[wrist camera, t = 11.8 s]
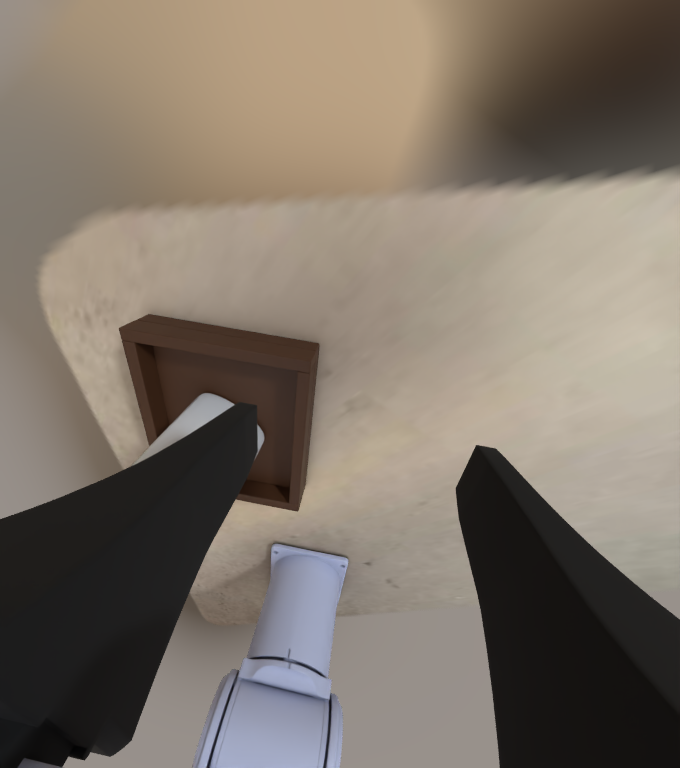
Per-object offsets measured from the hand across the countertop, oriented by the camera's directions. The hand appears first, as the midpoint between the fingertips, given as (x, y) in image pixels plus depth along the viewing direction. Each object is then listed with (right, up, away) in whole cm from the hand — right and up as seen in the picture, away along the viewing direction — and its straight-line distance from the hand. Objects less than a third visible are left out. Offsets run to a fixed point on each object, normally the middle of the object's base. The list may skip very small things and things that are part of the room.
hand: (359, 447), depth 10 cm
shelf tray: (-9, 0, +13) cm, 16 cm away
